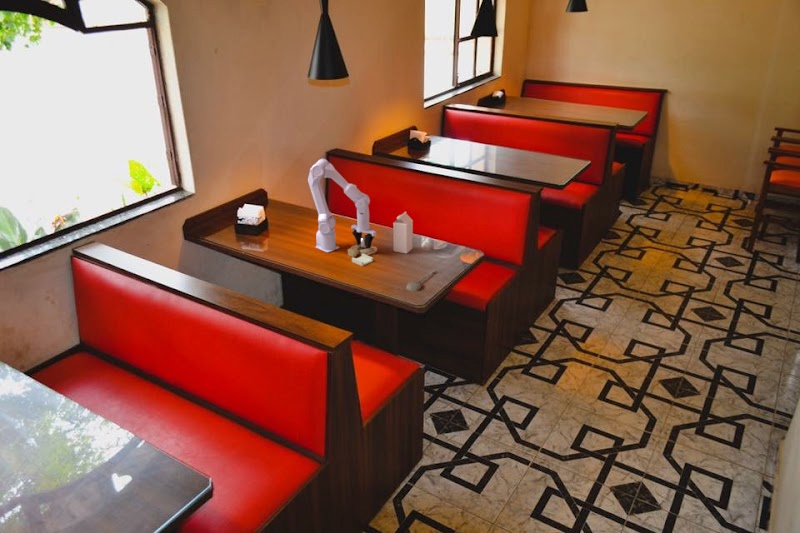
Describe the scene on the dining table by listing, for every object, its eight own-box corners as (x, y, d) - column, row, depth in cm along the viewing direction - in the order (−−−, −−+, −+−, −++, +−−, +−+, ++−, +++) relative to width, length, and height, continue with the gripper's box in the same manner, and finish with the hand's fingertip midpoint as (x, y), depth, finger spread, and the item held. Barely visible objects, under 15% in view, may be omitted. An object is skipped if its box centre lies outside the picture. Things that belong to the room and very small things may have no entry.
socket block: (351, 250, 308) (351, 246, 307) (363, 245, 313) (362, 242, 312) (365, 256, 302) (365, 252, 301) (377, 251, 307) (377, 247, 306)
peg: (359, 251, 308) (359, 237, 305) (364, 249, 310) (363, 236, 307) (363, 252, 306) (363, 239, 303) (368, 251, 308) (368, 237, 305)
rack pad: (351, 261, 296) (351, 257, 295) (362, 257, 301) (362, 253, 300) (362, 266, 292) (362, 262, 291) (372, 261, 296) (372, 257, 296)
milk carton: (412, 248, 310) (412, 212, 302) (406, 254, 304) (406, 217, 296) (399, 246, 313) (399, 210, 305) (393, 251, 307) (393, 215, 299)
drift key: (347, 255, 303) (347, 249, 302) (357, 251, 307) (357, 245, 306) (353, 257, 301) (353, 251, 299) (363, 253, 305) (363, 247, 303)
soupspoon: (403, 291, 272) (416, 295, 269) (403, 284, 270) (416, 288, 267) (429, 270, 288) (441, 275, 285) (429, 264, 286) (442, 268, 283)
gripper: (346, 218, 302) (347, 244, 308) (368, 226, 294) (369, 252, 299) (356, 214, 307) (357, 240, 313) (378, 221, 298) (379, 248, 304)
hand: (363, 246), depth 306 cm, fingers open, 6 cm apart
